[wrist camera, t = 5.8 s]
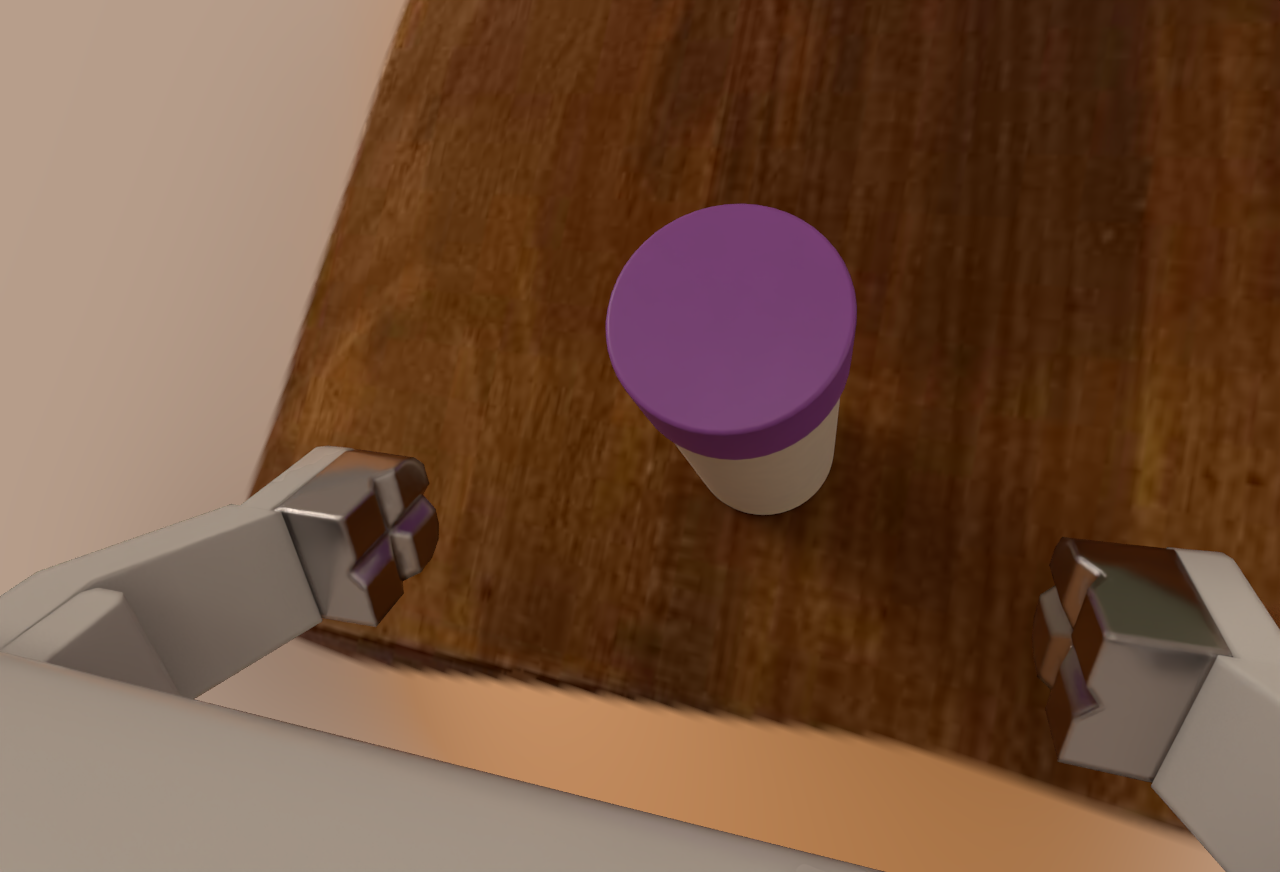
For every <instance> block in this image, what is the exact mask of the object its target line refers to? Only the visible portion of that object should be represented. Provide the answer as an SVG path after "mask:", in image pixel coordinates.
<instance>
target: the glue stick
mask: <svg viewBox="0 0 1280 872" xmlns="http://www.w3.org/2000/svg"><path fill="white" fill-rule="evenodd" d="M856 316H857V305H856V297H855V290H854V287H853V283H852V279H851V276H850V274H849V272H848V269H847V267H846V265H845V263H844V261H843V260H842V258H841V257H840V255H839V253H838V252H837V250H836V249H835V248H834V247H833V246H832V244H831V243H830V242H829V241H828V240H827V239H826V238H825V237H824V236H823V235H822V234H821V233H820V232H818V231H817V230H816V229H815V228H814V227H812V226H811V225H809V224H808V223H806V222H805V221H803V220H801V219H799V218H797V217H795V216H793V215H791V214H789V213H787V212H784V211H781V210H778V209H775V208H771V207H766V206H761V205H752V204H726V205H720V206H713V207H709V208H705V209H701V210H698V211H695V212H692V213H690V214H687V215H685V216H682V217H680V218H678V219H676V220H675V221H673V222H671V223H669V224H667V225H666V226H664V227H663V228H661V229H660V230H658V231H657V232H656V233H654V234H653V235H652V236H651V237H650V238H649V239H647V240H646V241H645V242H644V243H643V244H642V245H641V246H640V247H639V248H638V249H637V250H636V252H635V253H634V254H633V255H632V256H631V258H630V259H629V261H628V262H627V263H626V265H625V266H624V268H623V270H622V272H621V273H620V275H619V277H618V279H617V281H616V284H615V286H614V289H613V291H612V294H611V298H610V301H609V305H608V310H607V318H606V341H607V348H608V353H609V356H610V360H611V363H612V366H613V368H614V371H615V373H616V375H617V377H618V379H619V381H620V382H621V384H622V385H623V387H624V388H625V390H626V392H627V393H628V394H629V395H630V397H631V398H632V399H633V400H634V402H635V403H636V404H637V405H638V407H639V408H640V409H641V411H642V412H643V413H644V414H645V416H646V417H647V418H648V419H649V421H650V422H651V423H652V424H653V425H654V426H655V427H656V429H657V430H659V431H660V432H661V433H662V434H663V435H664V436H665V437H667V438H668V439H669V440H671V441H672V442H674V443H675V444H676V446H677V447H678V448H679V450H680V451H681V452H682V454H683V455H684V456H685V458H686V459H687V460H688V462H689V463H690V464H691V466H692V467H693V468H694V470H695V471H696V472H697V474H698V475H699V476H700V478H701V479H702V480H703V482H704V483H705V484H706V486H707V487H708V488H709V489H710V491H711V492H712V493H713V494H714V495H715V496H716V497H717V498H718V499H720V500H721V501H722V502H724V503H725V504H727V505H728V506H730V507H732V508H734V509H736V510H739V511H742V512H745V513H750V514H756V515H771V514H778V513H782V512H785V511H788V510H791V509H793V508H795V507H798V506H800V505H801V504H803V503H804V502H806V501H807V500H808V499H809V498H811V497H812V496H813V495H814V494H815V493H816V492H817V491H818V490H819V488H820V487H821V486H822V484H823V483H824V481H825V480H826V478H827V476H828V473H829V471H830V468H831V465H832V461H833V456H834V447H835V438H836V429H837V420H838V411H839V402H840V396H841V394H842V392H843V390H844V387H845V384H846V381H847V378H848V375H849V370H850V364H851V358H852V351H853V344H854V336H855V329H856Z"/></svg>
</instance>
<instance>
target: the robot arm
mask: <svg viewBox="0 0 1280 872" xmlns="http://www.w3.org/2000/svg"><path fill="white" fill-rule="evenodd" d="M428 485H429V481H428V477H427V474H426V471H425V467H424V464H423V463H421V462H420V461H419V460H417V459H416V458H414V457H408V456H401V455H394V454H387V453H380V452H373V451H366V450H359V449H355V450H354V449H351V448H344V447H336V446H322V447H316V448H315V449H313V450H312V451H311V452H309V453H308V454H307V455H306V456H304V457H303V458H302V459H300V460H299V461H298V462H296V463H295V464H294V465H292V466H291V467H290V468H289V469H287V470H286V471H285V472H283V473H282V474H281V475H279V476H278V477H277V478H275V479H274V480H273V481H272V482H270V483H269V484H268V485H266V486H265V487H264V488H262V489H261V490H260V491H258V492H257V493H256V494H255V495H253V496H252V497H251V498H249V499H248V500H247V501H245V502H244V503H243V504H241V505H233V504H230V505H227V506H225V507H222V508H219V509H216V510H213V511H211V512H208V513H204V514H202V515H199V516H196V517H193V518H190V519H187V520H184V521H181V522H179V523H176V524H173V525H170V526H167V527H165V528H161V529H159V530H156V531H153V532H150V533H147V534H144V535H141V536H138V537H136V538H133V539H130V540H127V541H124V542H121V543H118V544H116V545H112V546H110V547H107V548H104V549H101V550H98V551H95V552H92V553H90V554H87V555H84V556H81V557H78V558H75V559H73V560H69V561H67V562H64V563H61V564H58V565H55V566H52V567H49V568H47V569H44V570H41V571H38V572H36V573H34V574H33V575H31V576H30V577H28V578H27V579H25V580H24V581H22V582H21V583H19V584H18V585H16V586H15V587H13V588H12V589H10V590H9V591H7V592H6V593H4V594H3V595H1V596H0V872H884V871H880V870H876V869H872V868H868V867H864V866H860V865H856V864H852V863H848V862H844V861H840V860H835V859H831V858H828V857H824V856H819V855H815V854H811V853H807V852H803V851H799V850H795V849H791V848H787V847H783V846H779V845H775V844H771V843H767V842H763V841H759V840H755V839H751V838H747V837H743V836H739V835H735V834H731V833H727V832H723V831H719V830H715V829H711V828H707V827H703V826H699V825H694V824H691V823H687V822H683V821H679V820H674V819H671V818H667V817H663V816H659V815H655V814H651V813H647V812H643V811H639V810H634V809H631V808H627V807H622V806H619V805H614V804H611V803H607V802H603V801H598V800H595V799H590V798H587V797H582V796H579V795H575V794H571V793H567V792H563V791H559V790H555V789H551V788H547V787H543V786H539V785H535V784H531V783H527V782H522V781H519V780H515V779H511V778H507V777H502V776H499V775H495V774H491V773H487V772H483V771H479V770H475V769H471V768H467V767H463V766H459V765H454V764H451V763H447V762H443V761H439V760H435V759H431V758H427V757H423V756H419V755H415V754H411V753H407V752H402V751H399V750H395V749H391V748H387V747H382V746H379V745H375V744H371V743H367V742H363V741H359V740H355V739H351V738H346V737H343V736H339V735H335V734H331V733H327V732H323V731H319V730H315V729H311V728H307V727H303V726H298V725H295V724H290V723H287V722H282V721H279V720H275V719H271V718H267V717H263V716H259V715H255V714H251V713H247V712H243V711H239V710H235V709H231V708H227V707H223V706H219V705H215V704H211V703H206V702H202V701H198V700H195V698H197V697H198V696H200V695H202V694H203V693H205V692H206V691H208V690H210V689H211V688H213V687H215V686H216V685H218V684H220V683H221V682H223V681H225V680H226V679H228V678H230V677H231V676H233V675H235V674H236V673H238V672H239V671H241V670H243V669H244V668H246V667H248V666H249V665H251V664H253V663H254V662H256V661H258V660H259V659H261V658H263V657H264V656H266V655H267V654H269V653H271V652H272V651H274V650H276V649H277V648H279V647H281V646H282V645H284V644H286V643H287V642H289V641H290V640H292V639H294V638H295V637H297V636H299V635H300V634H302V633H304V632H305V631H307V630H309V629H310V628H312V627H314V626H315V625H317V624H319V623H320V622H322V618H325V619H332V620H338V621H344V622H350V623H356V624H362V625H368V626H374V627H376V626H377V625H378V624H379V623H380V622H381V620H382V619H383V618H384V617H385V615H386V614H387V613H388V612H389V611H390V609H391V608H392V607H393V606H394V605H395V603H396V602H397V601H398V600H399V598H400V597H401V596H402V595H403V594H404V590H403V581H404V580H406V579H408V578H410V577H412V576H414V575H416V574H418V573H420V572H421V571H422V570H423V569H424V568H425V566H426V565H427V564H428V562H429V561H430V560H431V558H432V556H433V553H434V551H435V548H436V545H437V542H438V538H439V522H438V518H437V513H436V509H435V508H434V507H433V506H432V505H431V503H430V502H429V501H428V500H427V499H426V498H425V497H424V495H423V494H424V492H425V490H426V489H427V487H428ZM1049 566H1050V569H1051V572H1052V576H1053V579H1054V583H1055V586H1053V587H1052V588H1050V589H1048V590H1047V591H1045V592H1044V593H1042V594H1041V595H1040V597H1039V600H1038V604H1037V608H1036V612H1035V615H1034V622H1033V634H1032V648H1033V659H1034V663H1035V668H1036V673H1037V677H1038V678H1039V679H1040V680H1041V681H1042V682H1043V683H1044V684H1046V685H1047V686H1048V687H1049V688H1050V689H1051V690H1052V691H1051V694H1050V697H1049V699H1048V702H1047V705H1046V708H1045V711H1046V715H1047V719H1048V723H1049V727H1050V731H1051V735H1052V739H1053V743H1054V747H1055V751H1056V755H1057V759H1058V762H1062V763H1066V764H1071V765H1075V766H1080V767H1084V768H1089V769H1093V770H1098V771H1102V772H1107V773H1111V774H1116V775H1120V776H1125V777H1129V778H1134V779H1138V780H1143V781H1147V782H1152V785H1151V787H1152V788H1153V789H1154V791H1155V792H1156V793H1157V794H1158V795H1159V796H1160V797H1161V799H1162V800H1163V801H1164V802H1165V803H1166V804H1167V805H1168V807H1169V808H1170V809H1171V810H1172V811H1173V812H1174V813H1175V814H1176V816H1177V817H1178V818H1179V819H1180V820H1181V821H1182V822H1183V824H1184V825H1185V826H1186V827H1187V828H1188V829H1189V830H1190V832H1191V833H1192V834H1193V835H1194V836H1195V837H1196V838H1197V840H1198V841H1199V842H1200V843H1201V844H1202V845H1203V846H1204V848H1205V849H1206V850H1207V851H1208V852H1209V853H1210V854H1211V855H1212V857H1213V858H1214V859H1215V860H1216V861H1217V862H1218V863H1219V864H1220V865H1221V867H1222V868H1223V869H1224V870H1225V871H1226V872H1280V629H1279V628H1278V626H1277V625H1276V623H1275V622H1274V620H1273V619H1272V617H1271V616H1270V614H1269V613H1268V611H1267V610H1266V608H1265V607H1264V605H1263V604H1262V602H1261V601H1260V599H1259V597H1258V596H1257V594H1256V593H1255V591H1254V590H1253V588H1252V587H1251V585H1250V584H1249V582H1248V581H1247V579H1246V578H1245V576H1244V575H1243V573H1242V572H1241V570H1240V569H1239V567H1238V566H1237V564H1236V563H1235V561H1234V560H1233V559H1232V558H1230V557H1229V556H1227V555H1225V554H1224V553H1221V552H1211V551H1200V550H1190V549H1179V548H1168V547H1167V548H1157V547H1148V546H1139V545H1130V544H1121V543H1112V542H1103V541H1094V540H1086V539H1077V538H1068V537H1062V538H1061V539H1060V541H1059V542H1058V544H1057V545H1056V547H1055V549H1054V552H1053V555H1052V559H1051V562H1050V565H1049Z"/></svg>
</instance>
